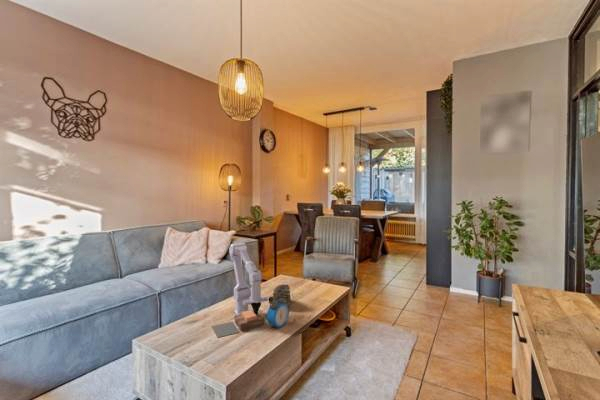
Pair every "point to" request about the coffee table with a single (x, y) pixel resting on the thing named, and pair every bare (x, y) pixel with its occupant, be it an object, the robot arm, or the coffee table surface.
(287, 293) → the rock
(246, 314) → the peach rectangular block
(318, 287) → the coffee table surface
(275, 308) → the alarm clock
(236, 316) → the tan flat block
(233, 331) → the mat
